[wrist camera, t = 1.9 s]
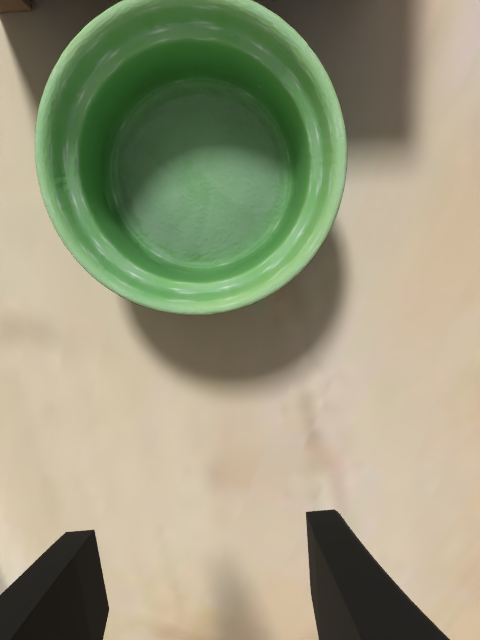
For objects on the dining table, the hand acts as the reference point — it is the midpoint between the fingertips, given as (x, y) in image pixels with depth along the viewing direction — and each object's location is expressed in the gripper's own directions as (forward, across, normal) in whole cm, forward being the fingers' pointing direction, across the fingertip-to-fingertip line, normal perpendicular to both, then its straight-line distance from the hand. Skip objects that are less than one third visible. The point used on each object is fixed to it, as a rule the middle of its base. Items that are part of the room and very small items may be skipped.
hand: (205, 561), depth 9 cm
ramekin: (+10, 0, -9) cm, 13 cm away
